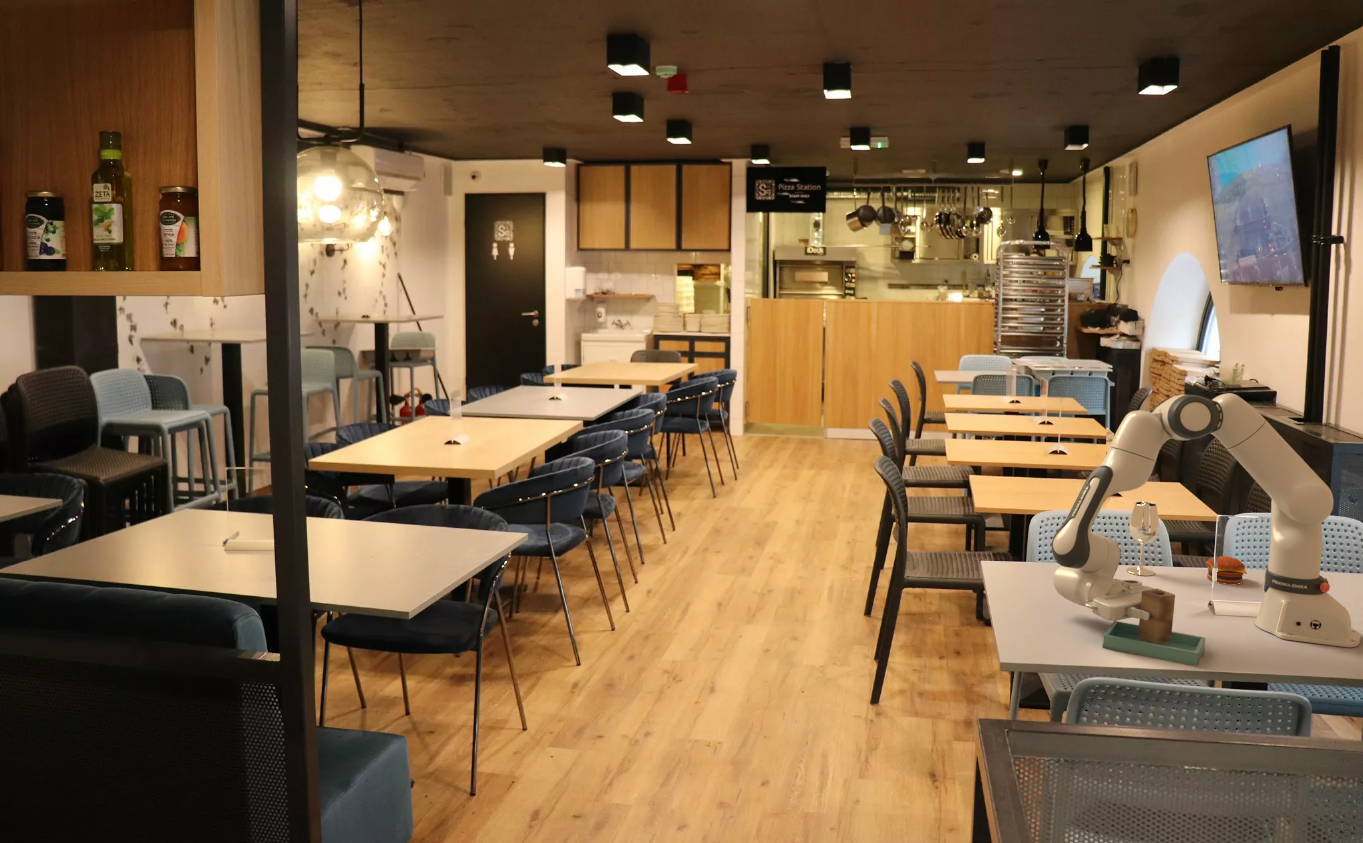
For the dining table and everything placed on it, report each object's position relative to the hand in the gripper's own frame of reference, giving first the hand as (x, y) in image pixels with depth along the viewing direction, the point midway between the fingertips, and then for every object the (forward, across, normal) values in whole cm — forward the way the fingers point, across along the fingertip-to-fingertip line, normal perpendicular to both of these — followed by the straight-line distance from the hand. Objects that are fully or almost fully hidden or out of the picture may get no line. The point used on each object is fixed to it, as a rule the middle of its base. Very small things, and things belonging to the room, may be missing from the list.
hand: (1159, 614), depth 257 cm
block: (-1, 0, +6) cm, 6 cm away
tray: (-1, 0, +8) cm, 9 cm away
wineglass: (-45, +48, +9) cm, 67 cm away
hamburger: (-30, +64, +9) cm, 71 cm away
